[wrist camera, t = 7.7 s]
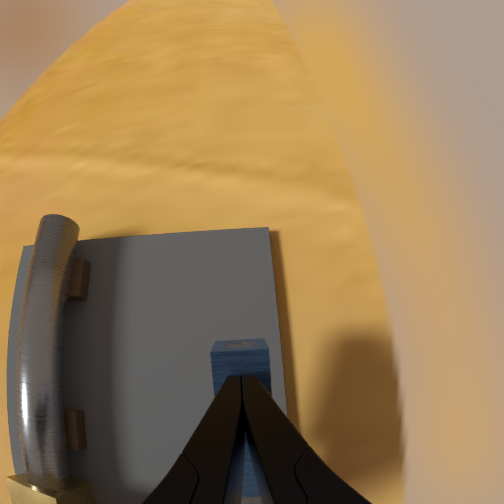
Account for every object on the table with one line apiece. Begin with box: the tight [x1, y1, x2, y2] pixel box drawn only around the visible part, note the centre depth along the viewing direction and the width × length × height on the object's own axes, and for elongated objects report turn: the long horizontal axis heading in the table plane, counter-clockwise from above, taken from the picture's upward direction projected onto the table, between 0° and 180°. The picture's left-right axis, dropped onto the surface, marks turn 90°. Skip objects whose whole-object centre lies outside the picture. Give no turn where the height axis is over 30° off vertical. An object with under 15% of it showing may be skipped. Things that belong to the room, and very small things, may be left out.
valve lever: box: [210, 338, 272, 504], centre depth 9 cm, size 2×2×12 cm
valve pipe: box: [6, 214, 96, 504], centre depth 11 cm, size 23×12×4 cm, turn 4°
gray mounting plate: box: [7, 227, 287, 504], centre depth 12 cm, size 26×18×1 cm
